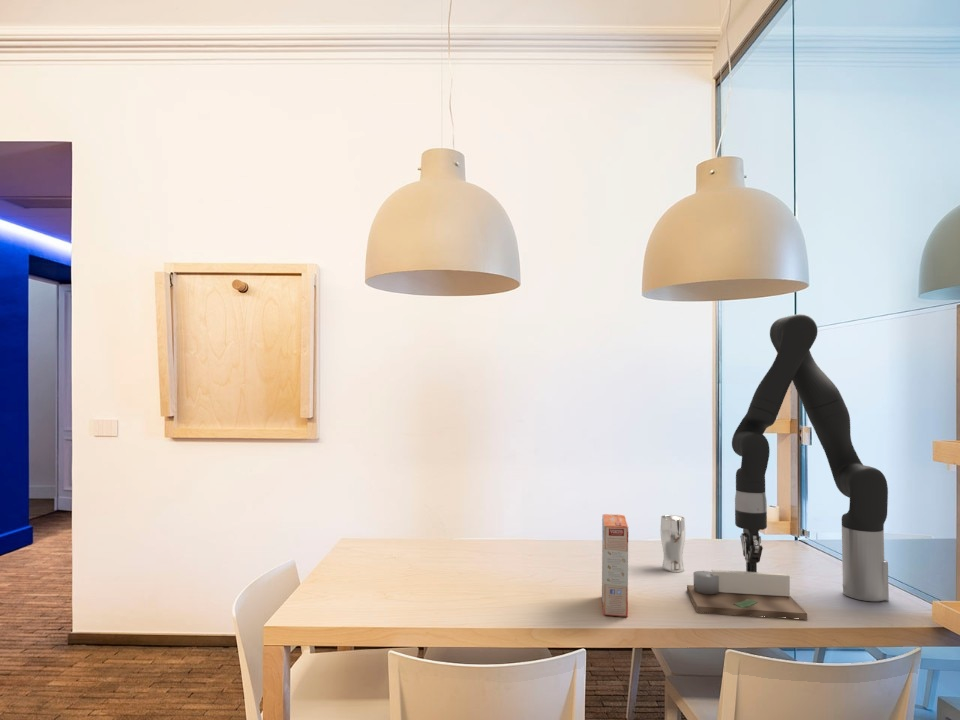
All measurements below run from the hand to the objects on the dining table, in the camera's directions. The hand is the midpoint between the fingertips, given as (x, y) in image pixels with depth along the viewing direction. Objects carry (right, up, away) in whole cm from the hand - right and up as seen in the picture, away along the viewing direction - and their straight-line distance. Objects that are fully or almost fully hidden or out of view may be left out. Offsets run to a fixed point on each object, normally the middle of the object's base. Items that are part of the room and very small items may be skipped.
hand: (751, 576), depth 160 cm
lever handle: (-4, -2, -4) cm, 7 cm away
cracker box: (-37, -4, -10) cm, 39 cm away
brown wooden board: (-5, -4, -8) cm, 10 cm away
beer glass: (-13, -6, +22) cm, 26 cm away
